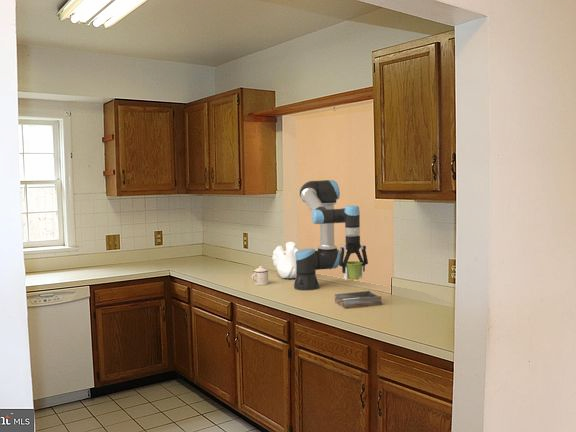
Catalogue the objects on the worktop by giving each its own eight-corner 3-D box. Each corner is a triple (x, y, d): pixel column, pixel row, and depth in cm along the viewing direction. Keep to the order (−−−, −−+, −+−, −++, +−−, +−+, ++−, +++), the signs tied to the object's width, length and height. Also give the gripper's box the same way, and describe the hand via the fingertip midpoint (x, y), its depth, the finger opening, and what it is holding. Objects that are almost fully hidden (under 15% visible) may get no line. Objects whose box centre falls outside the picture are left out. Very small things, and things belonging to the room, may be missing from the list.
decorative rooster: (307, 278, 356) (306, 241, 354) (287, 281, 348) (286, 243, 346) (288, 273, 378) (287, 238, 376) (268, 276, 369) (267, 240, 368)
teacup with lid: (262, 282, 350) (261, 264, 349) (271, 283, 343) (270, 265, 342) (247, 285, 342) (247, 266, 341) (256, 286, 335) (256, 268, 334)
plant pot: (350, 276, 288) (350, 260, 288) (366, 278, 282) (365, 261, 282) (341, 279, 281) (340, 263, 280) (356, 281, 275) (356, 264, 274)
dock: (335, 302, 287) (334, 294, 287) (369, 299, 293) (369, 290, 292) (345, 308, 273) (345, 300, 273) (381, 304, 279) (381, 296, 279)
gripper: (336, 237, 273) (337, 281, 275) (374, 234, 279) (375, 278, 281) (331, 235, 281) (332, 279, 282) (368, 233, 286) (369, 275, 288)
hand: (353, 278), depth 282 cm, fingers closed on plant pot, 8 cm apart
